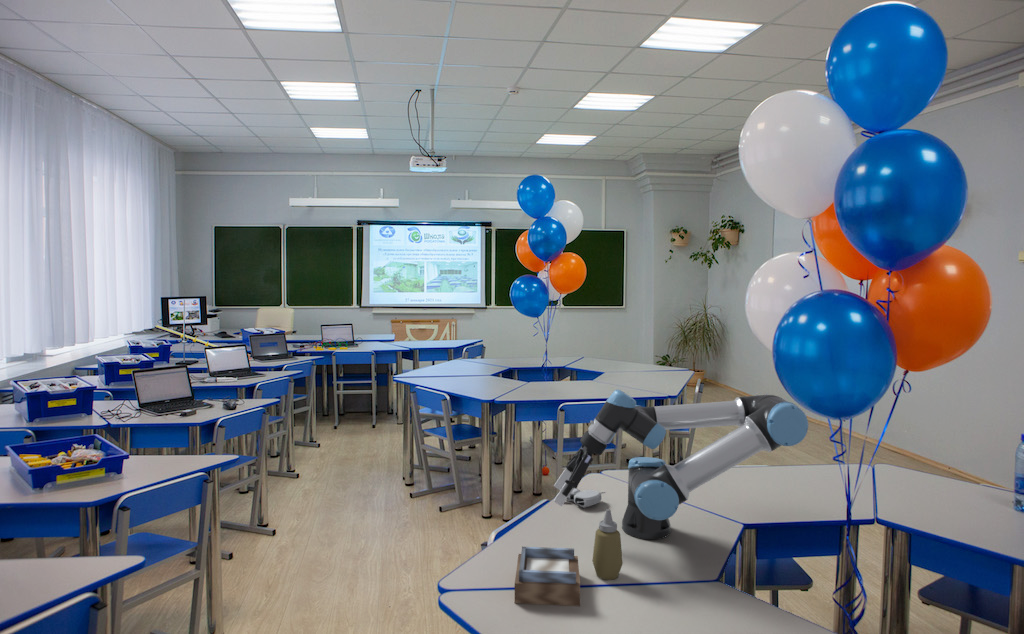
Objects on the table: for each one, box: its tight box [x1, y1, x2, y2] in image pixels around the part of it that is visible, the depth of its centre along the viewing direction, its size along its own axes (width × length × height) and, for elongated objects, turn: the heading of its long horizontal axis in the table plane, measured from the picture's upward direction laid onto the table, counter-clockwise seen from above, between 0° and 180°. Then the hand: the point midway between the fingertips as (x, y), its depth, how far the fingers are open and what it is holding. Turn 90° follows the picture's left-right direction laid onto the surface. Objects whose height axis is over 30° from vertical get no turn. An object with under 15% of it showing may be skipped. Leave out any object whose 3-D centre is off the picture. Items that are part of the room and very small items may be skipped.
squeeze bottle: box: [592, 508, 623, 581], centre depth 160 cm, size 8×8×18 cm
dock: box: [514, 546, 581, 607], centre depth 153 cm, size 16×16×8 cm
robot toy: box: [555, 487, 607, 509], centre depth 213 cm, size 12×4×15 cm
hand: (557, 495), depth 177 cm, fingers open, 13 cm apart
